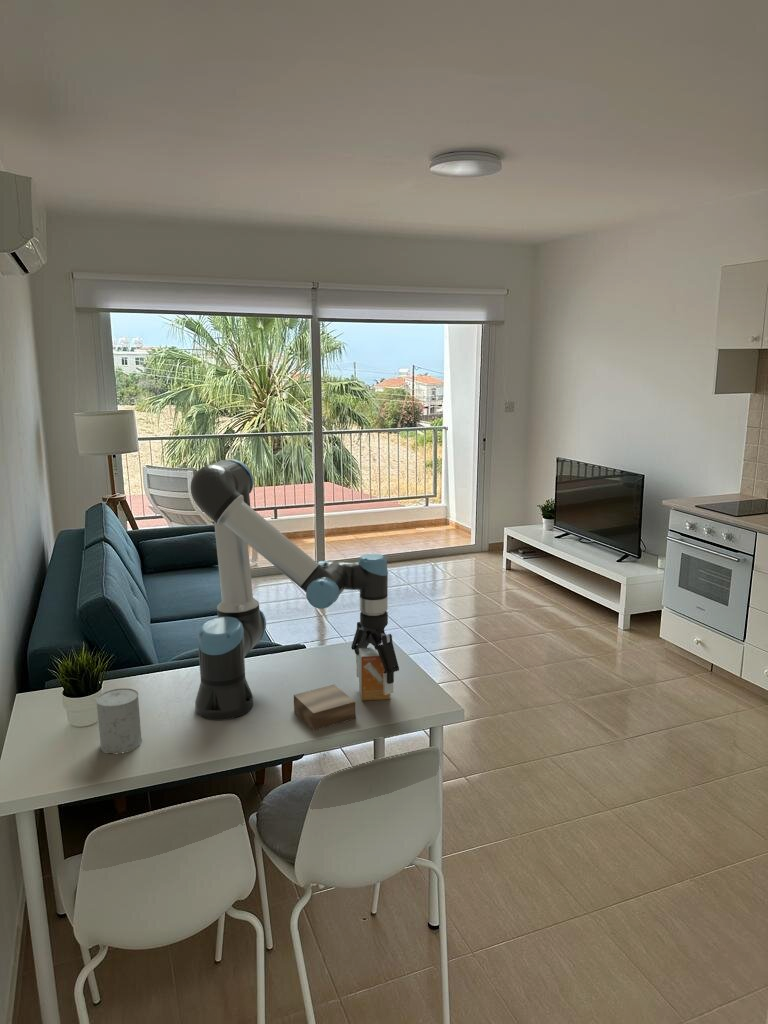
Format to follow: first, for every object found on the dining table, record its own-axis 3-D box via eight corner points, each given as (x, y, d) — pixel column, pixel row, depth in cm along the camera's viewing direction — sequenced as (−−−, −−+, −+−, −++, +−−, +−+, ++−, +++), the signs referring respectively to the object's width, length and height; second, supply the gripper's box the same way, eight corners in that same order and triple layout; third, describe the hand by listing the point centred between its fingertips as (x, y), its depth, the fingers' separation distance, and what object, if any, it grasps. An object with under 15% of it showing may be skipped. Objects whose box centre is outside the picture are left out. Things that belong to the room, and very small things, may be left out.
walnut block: (294, 712, 193) (293, 694, 192) (334, 701, 199) (334, 684, 198) (313, 731, 183) (313, 713, 182) (355, 719, 189) (355, 701, 188)
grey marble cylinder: (149, 736, 180) (146, 690, 178) (128, 756, 171) (124, 708, 168) (115, 732, 182) (111, 686, 180) (92, 751, 173) (87, 703, 171)
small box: (361, 701, 198) (360, 656, 195) (359, 691, 204) (358, 647, 201) (390, 699, 199) (390, 654, 196) (387, 689, 205) (387, 645, 202)
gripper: (412, 621, 188) (412, 697, 193) (361, 596, 209) (362, 666, 213) (388, 627, 184) (388, 705, 189) (338, 601, 205) (339, 672, 209)
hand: (374, 684), depth 201 cm, fingers open, 13 cm apart
